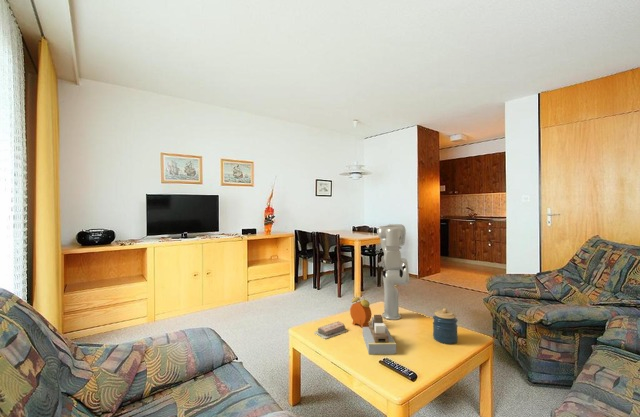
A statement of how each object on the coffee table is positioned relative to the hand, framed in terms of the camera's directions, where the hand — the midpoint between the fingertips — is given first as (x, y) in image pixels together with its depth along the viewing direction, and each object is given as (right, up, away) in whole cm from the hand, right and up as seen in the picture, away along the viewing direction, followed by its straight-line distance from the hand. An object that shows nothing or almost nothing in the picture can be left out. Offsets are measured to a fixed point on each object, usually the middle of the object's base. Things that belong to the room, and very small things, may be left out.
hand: (392, 277), depth 176 cm
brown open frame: (-12, -29, -15) cm, 34 cm away
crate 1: (-12, -25, -11) cm, 30 cm away
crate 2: (-12, -25, -19) cm, 33 cm away
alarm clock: (-18, -34, +11) cm, 40 cm away
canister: (+27, -33, -10) cm, 44 cm away
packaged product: (-37, -34, +1) cm, 51 cm away
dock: (-12, -34, -15) cm, 38 cm away
